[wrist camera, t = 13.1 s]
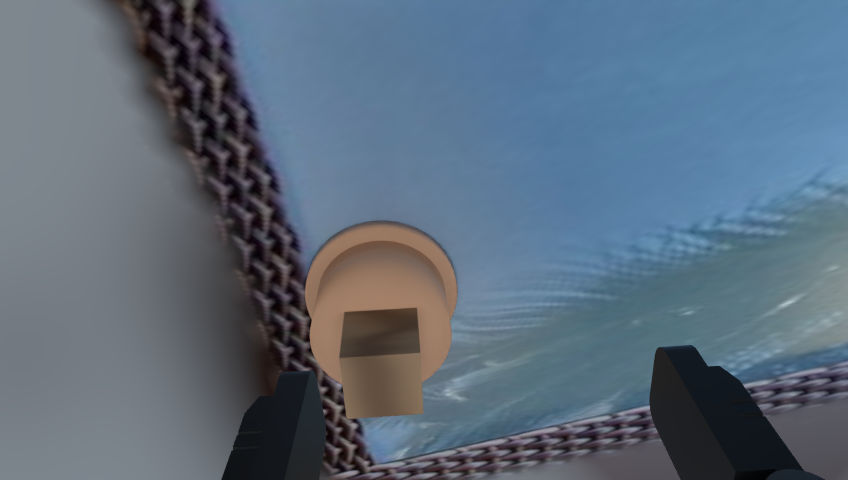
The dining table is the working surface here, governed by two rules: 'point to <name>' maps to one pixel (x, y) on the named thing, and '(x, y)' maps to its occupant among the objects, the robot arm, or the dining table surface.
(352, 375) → the walnut block
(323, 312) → the upside-down peach bowl
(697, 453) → the robot arm
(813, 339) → the dining table surface
